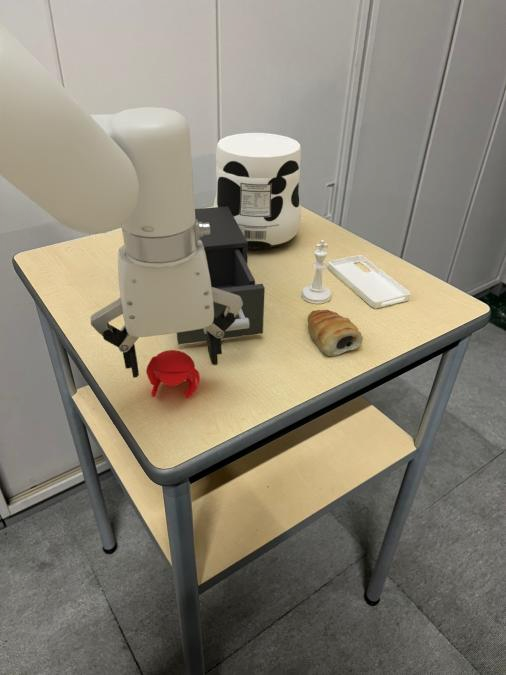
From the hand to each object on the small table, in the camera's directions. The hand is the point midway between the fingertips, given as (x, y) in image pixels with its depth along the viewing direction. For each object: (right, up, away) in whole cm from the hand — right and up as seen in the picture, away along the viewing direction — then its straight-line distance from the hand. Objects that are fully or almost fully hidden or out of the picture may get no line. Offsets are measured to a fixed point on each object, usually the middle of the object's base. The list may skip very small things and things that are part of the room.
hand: (174, 364), depth 64 cm
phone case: (+29, +13, +26) cm, 41 cm away
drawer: (+4, +6, +14) cm, 15 cm away
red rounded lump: (0, -4, +3) cm, 5 cm away
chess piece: (+20, +10, +22) cm, 32 cm away
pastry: (+21, +3, +12) cm, 25 cm away
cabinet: (0, +14, +26) cm, 29 cm away
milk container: (+10, +23, +40) cm, 47 cm away
